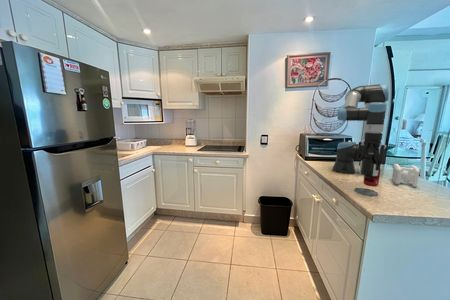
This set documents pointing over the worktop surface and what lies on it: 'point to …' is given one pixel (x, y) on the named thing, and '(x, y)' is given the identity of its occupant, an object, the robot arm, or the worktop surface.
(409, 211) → the worktop surface
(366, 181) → the canned food
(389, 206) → the worktop surface
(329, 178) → the worktop surface
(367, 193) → the coaster
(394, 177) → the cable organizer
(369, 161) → the supplement bottle
